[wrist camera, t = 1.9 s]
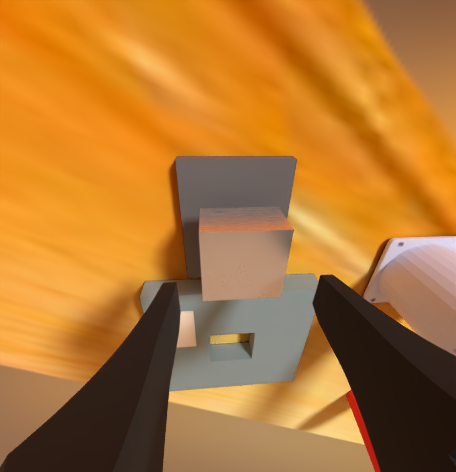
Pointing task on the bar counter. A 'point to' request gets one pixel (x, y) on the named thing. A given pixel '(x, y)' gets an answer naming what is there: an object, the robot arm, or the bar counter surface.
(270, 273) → the tan cubic block
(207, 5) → the bar counter surface
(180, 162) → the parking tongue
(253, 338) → the hole plate
